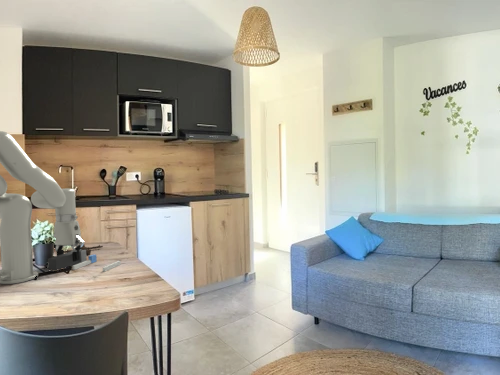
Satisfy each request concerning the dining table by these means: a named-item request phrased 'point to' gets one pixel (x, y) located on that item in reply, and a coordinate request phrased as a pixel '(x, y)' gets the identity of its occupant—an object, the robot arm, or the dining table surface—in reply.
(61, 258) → the dark grey rectangular block
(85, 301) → the dining table surface
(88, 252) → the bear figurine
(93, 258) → the white blue-tipped sticks
